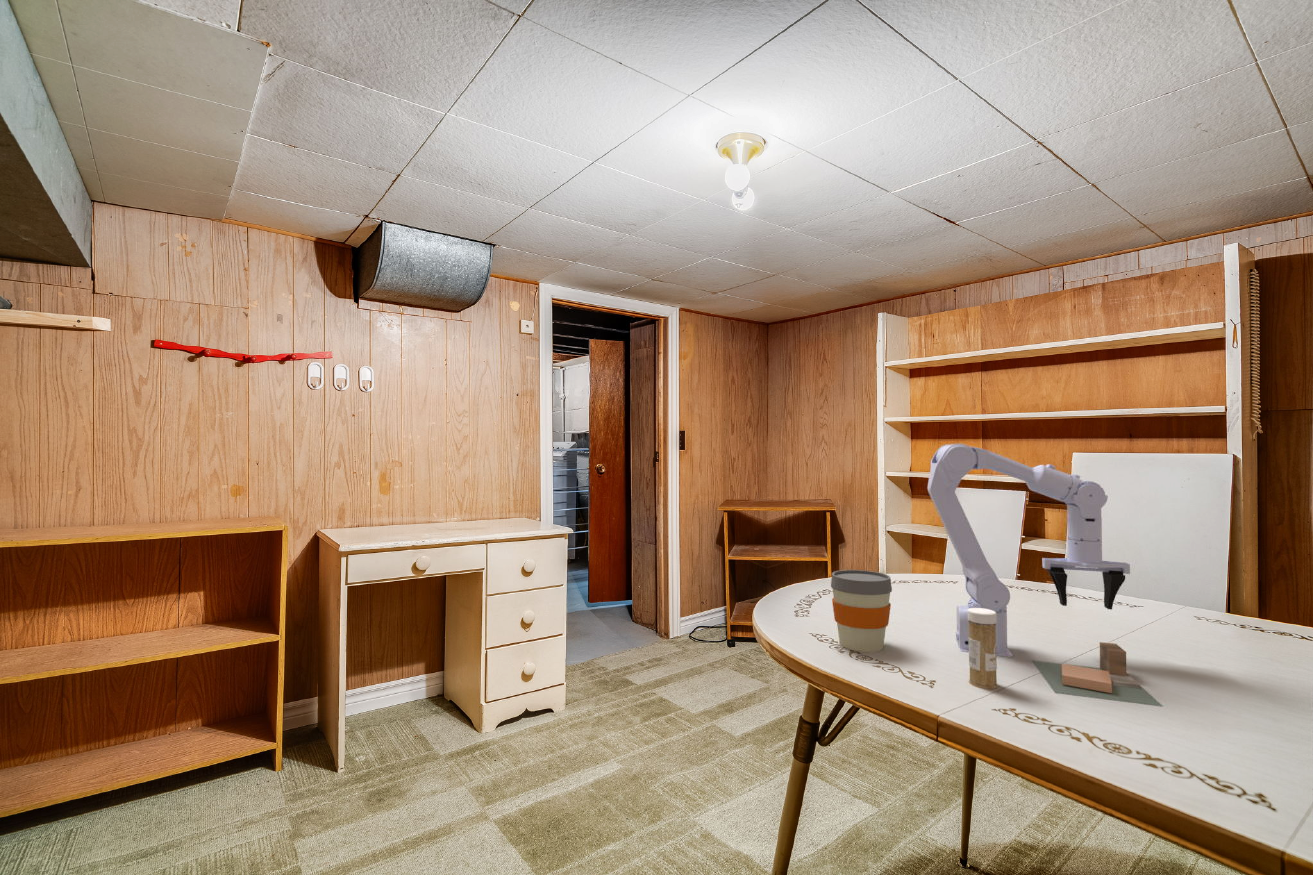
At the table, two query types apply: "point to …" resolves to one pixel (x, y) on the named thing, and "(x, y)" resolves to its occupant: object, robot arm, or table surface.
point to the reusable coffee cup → (861, 608)
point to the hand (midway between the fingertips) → (1085, 606)
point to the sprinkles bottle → (982, 648)
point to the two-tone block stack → (1116, 665)
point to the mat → (1119, 693)
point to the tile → (1086, 678)
